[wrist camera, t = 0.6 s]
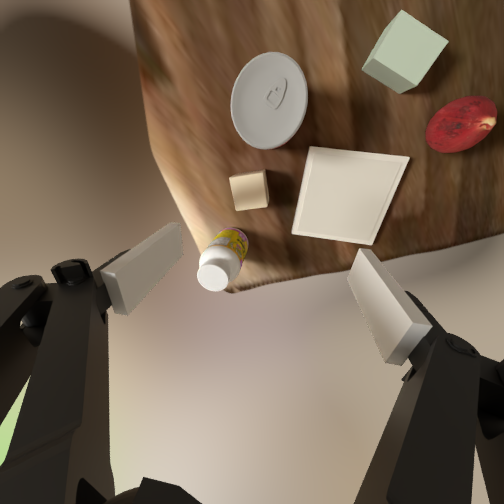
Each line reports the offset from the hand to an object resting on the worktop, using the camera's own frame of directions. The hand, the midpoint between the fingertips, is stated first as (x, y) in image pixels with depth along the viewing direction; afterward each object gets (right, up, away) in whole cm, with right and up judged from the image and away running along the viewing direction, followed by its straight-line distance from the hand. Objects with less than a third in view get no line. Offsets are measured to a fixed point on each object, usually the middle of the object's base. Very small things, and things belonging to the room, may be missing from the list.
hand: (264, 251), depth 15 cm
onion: (+24, +17, +12) cm, 32 cm away
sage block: (+17, +24, +10) cm, 31 cm away
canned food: (+2, +20, +15) cm, 25 cm away
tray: (+14, +9, +18) cm, 25 cm away
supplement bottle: (-5, +2, +25) cm, 25 cm away
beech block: (-1, +11, +19) cm, 22 cm away
